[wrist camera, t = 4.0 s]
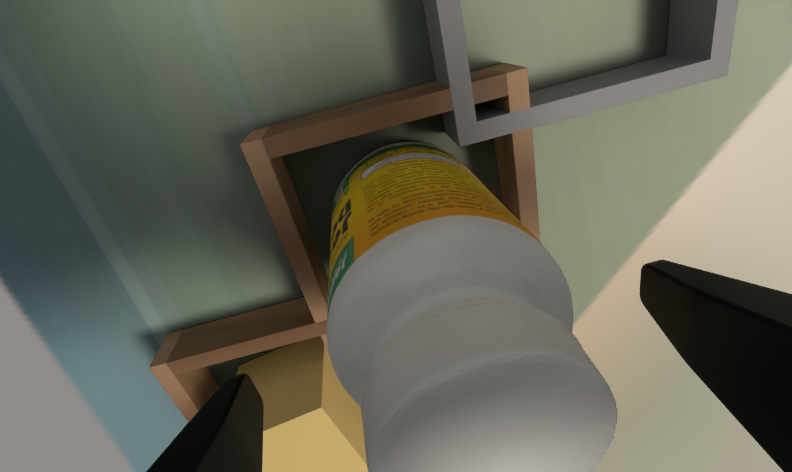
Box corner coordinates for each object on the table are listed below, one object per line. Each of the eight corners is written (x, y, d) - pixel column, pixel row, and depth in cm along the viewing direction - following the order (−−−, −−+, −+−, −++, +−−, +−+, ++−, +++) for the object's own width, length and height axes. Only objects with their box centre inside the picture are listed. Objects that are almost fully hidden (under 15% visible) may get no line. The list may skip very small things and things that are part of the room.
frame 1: (415, 415, 20) (422, 449, 18) (251, 460, 20) (243, 498, 18) (372, 278, 16) (375, 306, 14) (167, 333, 16) (149, 367, 14)
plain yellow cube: (366, 388, 19) (372, 472, 15) (288, 420, 19) (276, 510, 15) (325, 327, 17) (321, 407, 13) (239, 364, 17) (213, 451, 14)
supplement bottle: (477, 264, 16) (630, 522, 8) (343, 283, 16) (348, 577, 7) (478, 127, 14) (703, 288, 5) (318, 146, 13) (284, 353, 5)
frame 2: (525, 273, 17) (544, 299, 15) (330, 326, 17) (330, 357, 15) (503, 62, 13) (527, 67, 11) (252, 129, 13) (240, 144, 11)
